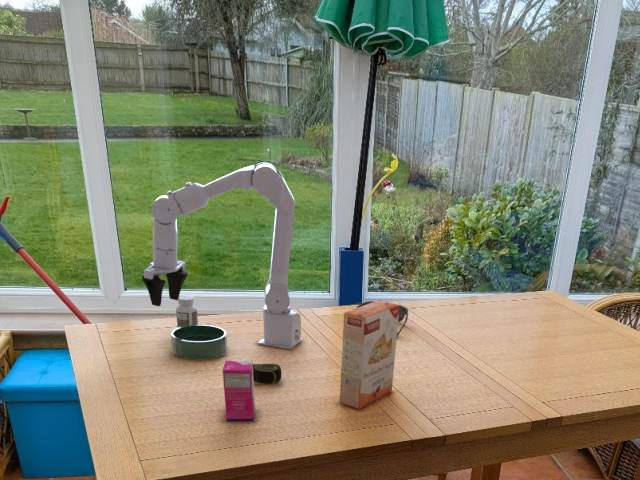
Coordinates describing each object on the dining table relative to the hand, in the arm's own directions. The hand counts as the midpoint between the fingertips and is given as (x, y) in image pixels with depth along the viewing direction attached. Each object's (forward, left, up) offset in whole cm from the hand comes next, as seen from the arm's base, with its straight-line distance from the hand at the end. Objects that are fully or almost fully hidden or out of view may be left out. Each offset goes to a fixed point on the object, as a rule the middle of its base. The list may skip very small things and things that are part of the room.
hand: (165, 302), depth 185 cm
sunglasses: (-45, -39, -11) cm, 60 cm away
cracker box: (-59, +12, -11) cm, 61 cm away
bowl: (-11, +3, -10) cm, 16 cm away
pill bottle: (-1, -8, -11) cm, 13 cm away
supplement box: (-38, +33, -11) cm, 52 cm away
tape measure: (-34, +13, -11) cm, 38 cm away
